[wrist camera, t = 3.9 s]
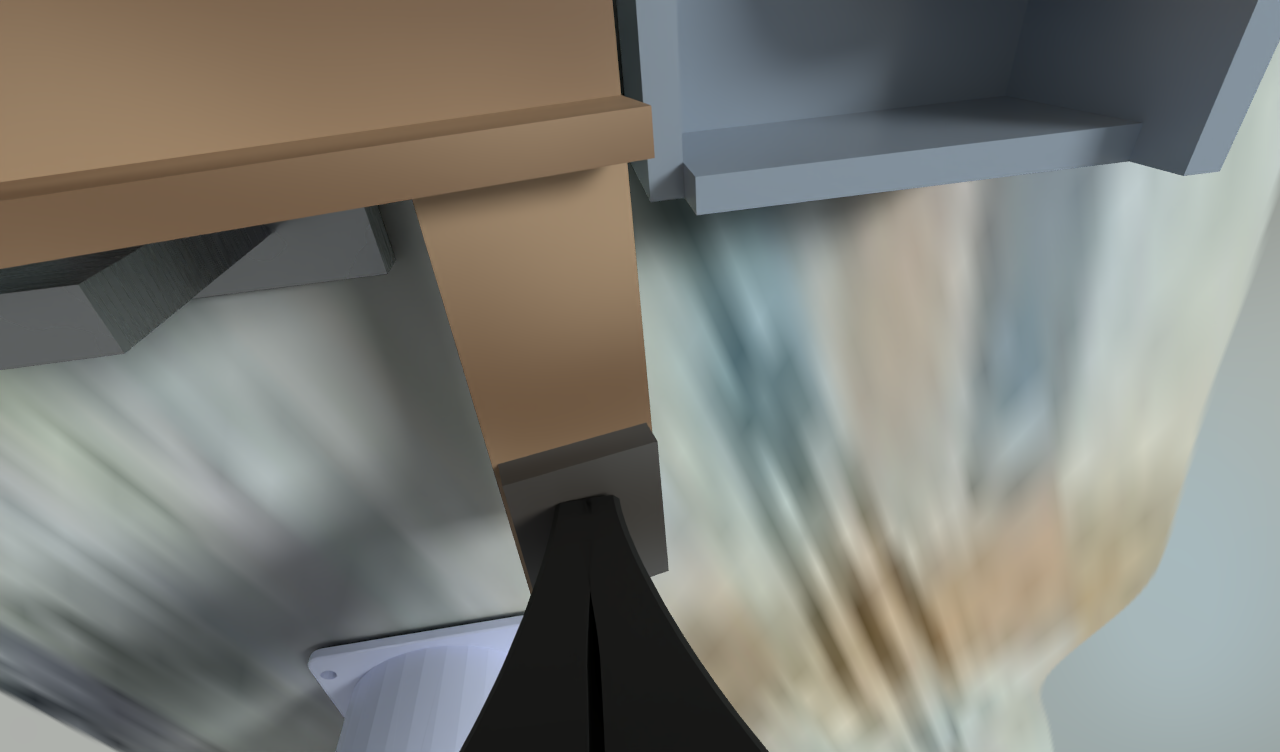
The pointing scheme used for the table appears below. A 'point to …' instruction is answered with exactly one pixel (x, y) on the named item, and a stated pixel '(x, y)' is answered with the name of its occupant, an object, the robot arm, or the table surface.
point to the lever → (375, 187)
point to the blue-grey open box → (931, 91)
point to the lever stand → (173, 282)
